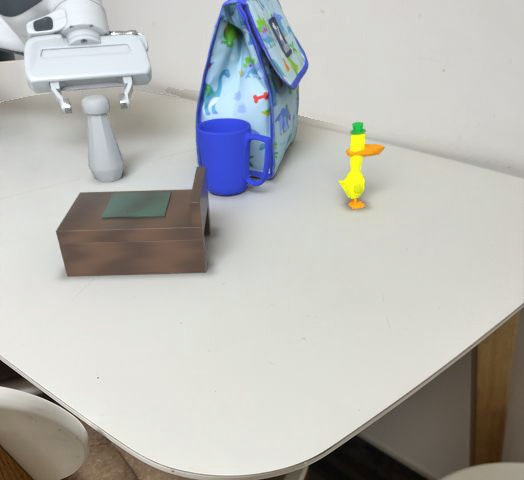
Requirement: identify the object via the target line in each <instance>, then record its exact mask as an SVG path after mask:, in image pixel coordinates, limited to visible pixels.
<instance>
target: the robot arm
mask: <svg viewBox="0 0 524 480" xmlns="http://www.w3.org/2000/svg"><path fill="white" fill-rule="evenodd" d="M1 51H2V52H5V53H10V54H15V55H19V56H23V68H24V75H25V80H26V82H27V85H28V87H29V89H30V91H32V92H33V93H34V94H46V93H51V94H52V97H53V98H54V100H55V101H56V102H57V103H58V104H59V105H60V108H61V113H62V114H63V115H67V114H73V110H72V104H71V102H70V101H71V100H70V98H64V97H63V94H62V92H73V91H84V90H94V89H95V90H96V89H97V90H98V89H107V88H108V89H109V88H123V89H124V92H123V93H119V94H118V97H119V104H120V109H121V110H127V109H131V105H130V99H131V96H132V94H133V92H134V86H135V87H136V86H145V85H149V84H150V83H151V81H152V78H153V73H152V72H153V71H152V64H151V61H150V57H149V55H148V51H149V42H148V39H147V37H146V35H144V34H143V32H142V33H141V32H138V31H137V30H136V29H128V30H110V27H109V21H108V16H107V12H106V9H105V7H104V5H103V0H0V52H1Z"/></svg>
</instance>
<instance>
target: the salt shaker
mask: <svg viewBox="0 0 524 480" xmlns="http://www.w3.org/2000/svg"><path fill="white" fill-rule="evenodd" d="M81 109H82V112H83V113H84V114H86V115H87V117H86V118H87V159H88V161H87V162H88V163H87V165H88V169H89V170H90V172H91V173H92V175H93V176H94V178H95V179H96V180H97V181H99V182H100V183H111V182H116V181H118V180H121V179H122V175H123V170H124V167H125V159H124V157H123V154H122V153H121V149H120V146H119V144H118V141H117V138H116V135H115V132H114V130H113V127H112V124H111V121H110V118H109V116H108V113H109V112H110V111H111V103H110V100H109V98H108V97H107V96H105V95H102V94H90V95H87V96H84V97H83V98H82V99H81Z"/></svg>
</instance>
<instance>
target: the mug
mask: <svg viewBox="0 0 524 480" xmlns="http://www.w3.org/2000/svg"><path fill="white" fill-rule="evenodd" d="M196 130H197V136H198V143H199V149H200V155H201V161H202V166H206V174H207V186H208V192H210V193H211V194H214V195H217V196H224V197H225V196H226V197H227V196H235V195H239V194H242V193H243V192H245V190H246V189H247V188H248V186H253V187H259V186H261V185H263V184H264V183H265V182H266V181H267V180H266V179H267V176H268V173H269V167H270V159H271V146H272V139H271V138H270V137H267V136H264V135H259V134H253V133H251V124H250V123H249V122H247V121H245V120H241V119H234V118H219V119H211V120H207V121H204V122H201V123H199V124H198V125H197V127H195V131H196ZM251 140H258V141H262V142H264V143H265V159H264V168H263V173H262V177H261V178H259V179H258V180H254V179H253V178H251V176H250V174H249V162H250V143H251Z"/></svg>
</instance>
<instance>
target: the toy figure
mask: <svg viewBox="0 0 524 480" xmlns="http://www.w3.org/2000/svg"><path fill="white" fill-rule="evenodd" d="M351 125H352V129H351V130H350V131H349V133H350V140H349V141H350V143H349V148H347V149H346V150H345V153H346V156H347V157H349V167H350V170H349V171H348V173H347V174H346V175H345V176H344V179H343V180H340V179H339V180H337V181H338V183H339V185H340V186H341V188H342V189H343V191H344V193H345V195H346V196H347V198H349V199H350V201H349V203H348V204H347V206H348V207H349V208H350V210H351V209H352V210H357V209H363V208H365V203H364V202H362V200H359V198H360V197H361V195H363V193H364V192H365V183H366V178H365V176H364V174H363V173H362V165H363V160H364V158H366V157H374V156H379V155H380V154H381V153H382V152H383V151H384V149H386V147H385V146H384V145H382V144H378V143H366V137H367V136H366V132H367V130H366V128H364V122H362V121H355V122H353V123H351Z"/></svg>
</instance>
